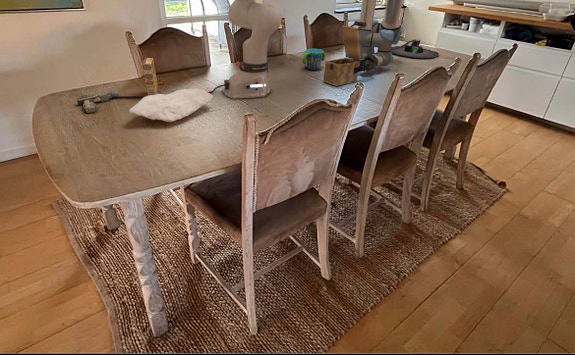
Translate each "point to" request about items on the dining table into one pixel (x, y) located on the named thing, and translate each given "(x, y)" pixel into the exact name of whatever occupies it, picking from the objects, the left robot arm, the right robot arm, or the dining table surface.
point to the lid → (352, 40)
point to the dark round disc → (414, 51)
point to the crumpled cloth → (171, 104)
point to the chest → (340, 71)
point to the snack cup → (313, 58)
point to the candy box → (150, 76)
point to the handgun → (95, 100)
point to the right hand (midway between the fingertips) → (347, 68)
